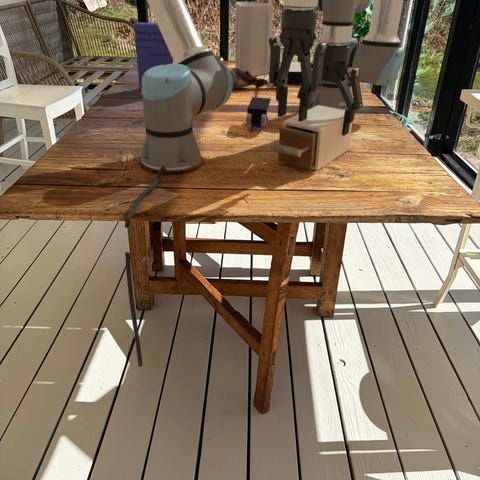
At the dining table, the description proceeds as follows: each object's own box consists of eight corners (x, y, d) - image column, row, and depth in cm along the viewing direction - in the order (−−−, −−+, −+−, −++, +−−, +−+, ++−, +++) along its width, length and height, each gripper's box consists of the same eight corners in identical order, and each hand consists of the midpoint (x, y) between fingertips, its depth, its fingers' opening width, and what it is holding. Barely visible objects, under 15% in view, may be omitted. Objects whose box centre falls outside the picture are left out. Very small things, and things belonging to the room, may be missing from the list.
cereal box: (185, 88, 190) (183, 22, 177) (183, 91, 186) (180, 24, 173) (142, 87, 190) (136, 21, 178) (139, 90, 186) (133, 23, 174)
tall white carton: (273, 76, 210) (276, 6, 196) (239, 77, 209) (240, 6, 194) (266, 67, 226) (268, 2, 212) (235, 67, 225) (235, 1, 210)
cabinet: (317, 170, 120) (321, 129, 115) (281, 160, 126) (283, 120, 120) (348, 149, 133) (353, 111, 128) (314, 141, 138) (318, 105, 133)
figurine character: (266, 138, 144) (270, 118, 156) (267, 114, 140) (271, 95, 151) (244, 136, 145) (250, 117, 157) (244, 113, 140) (250, 94, 152)
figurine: (210, 87, 179) (288, 95, 182) (212, 65, 176) (291, 73, 180) (208, 84, 201) (278, 91, 205) (210, 64, 198) (280, 71, 202)
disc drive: (287, 84, 198) (287, 71, 196) (281, 72, 218) (282, 61, 215) (329, 84, 199) (330, 72, 196) (320, 72, 218) (321, 61, 216)
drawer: (299, 176, 114) (302, 141, 110) (266, 167, 119) (268, 133, 115) (341, 150, 130) (345, 118, 126) (310, 142, 135) (313, 111, 130)
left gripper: (346, 10, 98) (333, 121, 110) (273, 4, 107) (268, 107, 119) (330, 12, 93) (318, 129, 105) (254, 6, 102) (251, 114, 114)
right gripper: (385, 46, 115) (371, 134, 126) (302, 36, 127) (295, 118, 138) (373, 50, 110) (360, 142, 121) (287, 40, 121) (282, 125, 133)
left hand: (292, 117), depth 112 cm, fingers open, 5 cm apart
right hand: (325, 129), depth 130 cm, fingers closed on cabinet, 11 cm apart
